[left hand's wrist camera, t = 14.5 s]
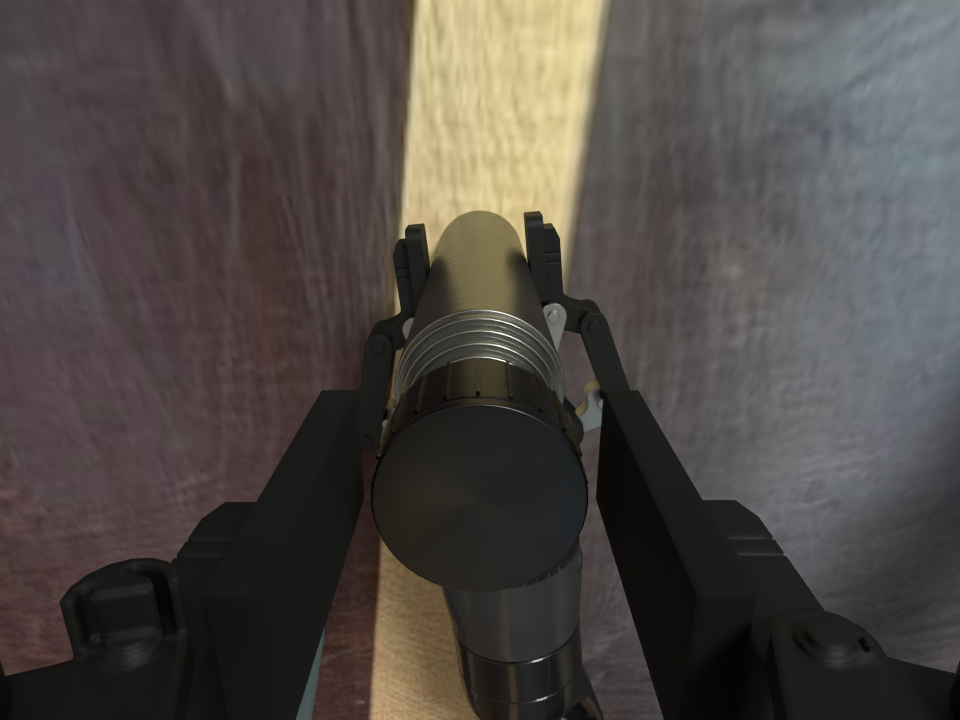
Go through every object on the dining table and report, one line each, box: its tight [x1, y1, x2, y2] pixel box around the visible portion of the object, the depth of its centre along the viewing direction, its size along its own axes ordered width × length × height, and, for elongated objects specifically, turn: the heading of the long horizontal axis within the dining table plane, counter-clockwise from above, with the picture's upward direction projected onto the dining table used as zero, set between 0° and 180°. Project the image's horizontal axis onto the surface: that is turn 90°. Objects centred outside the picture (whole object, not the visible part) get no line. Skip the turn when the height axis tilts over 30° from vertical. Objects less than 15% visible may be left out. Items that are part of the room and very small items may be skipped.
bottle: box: [395, 211, 565, 405], centre depth 24 cm, size 5×5×25 cm
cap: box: [371, 358, 588, 592], centre depth 14 cm, size 4×4×2 cm
